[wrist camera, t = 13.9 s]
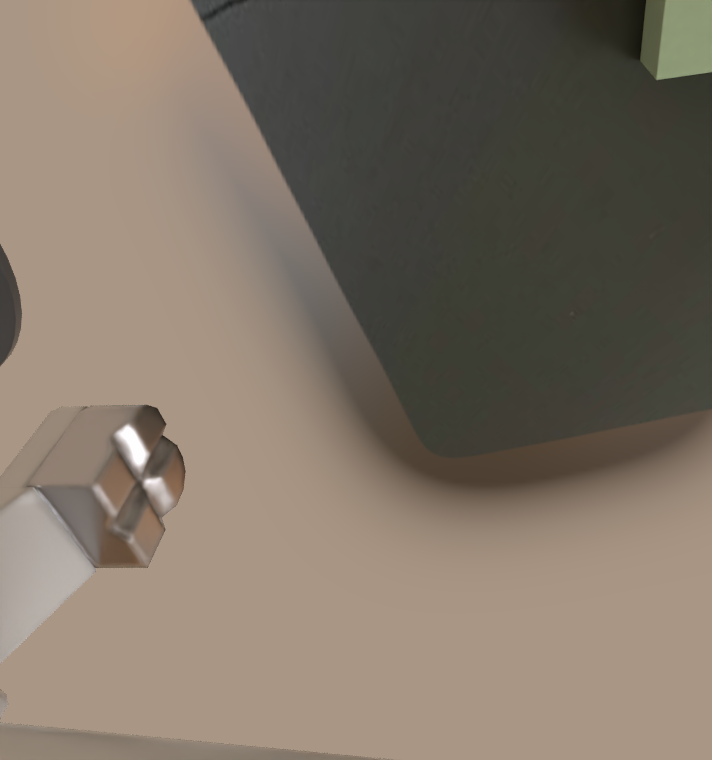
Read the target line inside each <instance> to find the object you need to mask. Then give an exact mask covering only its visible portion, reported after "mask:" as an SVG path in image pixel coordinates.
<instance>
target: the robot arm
mask: <svg viewBox="0 0 712 760" xmlns="http://www.w3.org/2000/svg"><path fill="white" fill-rule="evenodd" d="M165 426H166V423H165V421H164V419H163V418H162V416H161V414H160V412H159V411H158V409H157V408H155V407H152V406H149V405H113V406H89V407H61V408H58V409H56V410H54V411H52V412H50V413H49V415H48V416H47V417H46V419H45V420H44V421H43V422H42V424H41V425H40V426H39V428H38V429H37V430H36V431H35V433H34V434H33V435H32V437H31V438H30V439H29V440H28V442H27V443H26V444H25V446H24V447H23V448H22V449H21V451H20V452H19V453H18V455H17V456H16V457H15V459H14V460H13V461H12V462H11V464H10V465H9V466H8V467H7V469H6V470H5V471H4V473H3V474H2V475H1V477H0V664H1V663H2V661H4V660H5V659H6V658H7V657H8V656H9V655H10V654H11V653H12V652H13V651H14V650H15V649H16V648H17V647H18V646H19V645H20V644H21V643H22V642H23V641H24V640H25V639H26V638H27V637H28V636H29V635H30V634H32V633H33V631H34V630H36V629H37V628H38V627H39V626H40V625H41V624H42V623H43V622H44V621H45V620H46V619H47V618H48V617H49V616H50V615H51V614H52V613H53V612H54V611H55V610H56V609H57V608H58V607H59V606H61V605H62V604H63V603H64V602H65V601H66V600H67V599H68V598H69V597H70V596H71V595H72V594H73V593H74V592H75V591H76V590H77V589H78V588H79V587H80V586H81V585H82V584H83V583H84V582H85V581H86V580H87V579H88V578H90V577H91V576H92V574H94V573H95V572H96V569H95V568H148V566H149V564H150V562H151V560H152V557H153V555H154V553H155V551H156V549H157V547H158V545H159V542H160V540H161V538H162V536H163V534H164V532H165V527H164V523H163V520H162V517H163V516H164V515H165V514H166V513H168V512H169V511H170V510H171V509H173V508H174V507H175V506H176V505H177V503H178V501H179V499H180V496H181V494H182V492H183V488H184V479H185V466H184V461H183V457H182V455H181V453H180V451H179V449H178V447H177V445H175V444H174V443H173V442H172V441H170V440H169V439H167V438H166V437H165V436H163V432H164V429H165ZM7 705H8V701H7V696H6V694H5V693H4V692H3V691H2V690H0V718H1V716H2V715H3V713H4V711H5V709H6V707H7ZM0 760H390V759H381V758H371V757H359V756H348V755H339V754H328V753H317V752H307V751H296V750H286V749H276V748H265V747H255V746H244V745H234V744H223V743H212V742H202V741H192V740H181V739H170V738H159V737H149V736H138V735H128V734H116V733H107V732H96V731H86V730H74V729H65V728H53V727H43V726H33V725H22V724H12V723H1V722H0ZM391 760H392V759H391Z"/></svg>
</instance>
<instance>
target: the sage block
mask: <svg viewBox="0 0 712 760" xmlns="http://www.w3.org/2000/svg"><path fill="white" fill-rule="evenodd" d="M640 61H641V62H642V64H643V65H644V66H645V67H646V68H647V70H648V71H649V72H650V73H651V74H652V76H653V77H654V78H655V79H656V80H659V79H666V78H673V77H680V76H687V75H694V74H701V73H708V72H712V0H646V7H645V17H644V27H643V37H642V47H641V57H640Z"/></svg>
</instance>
